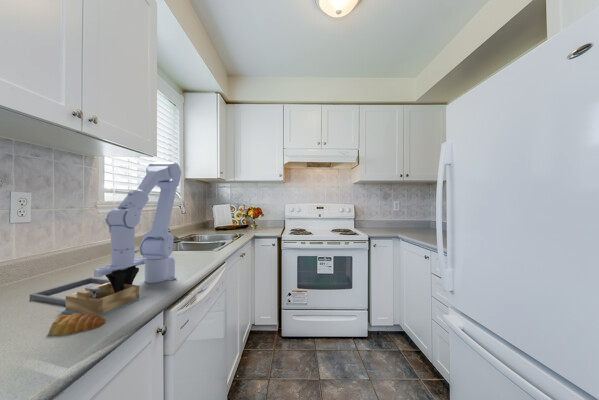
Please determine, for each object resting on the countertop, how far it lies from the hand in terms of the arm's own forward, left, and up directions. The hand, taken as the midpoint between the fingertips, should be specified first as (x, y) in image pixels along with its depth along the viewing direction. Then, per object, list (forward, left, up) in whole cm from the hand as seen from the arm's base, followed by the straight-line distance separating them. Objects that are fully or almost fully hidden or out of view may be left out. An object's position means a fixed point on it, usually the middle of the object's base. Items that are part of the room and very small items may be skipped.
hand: (122, 294), depth 72 cm
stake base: (+5, 0, -2) cm, 5 cm away
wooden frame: (+5, 0, -1) cm, 5 cm away
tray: (+1, -16, -2) cm, 16 cm away
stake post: (+8, 0, -2) cm, 8 cm away
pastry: (+16, +6, -2) cm, 17 cm away
